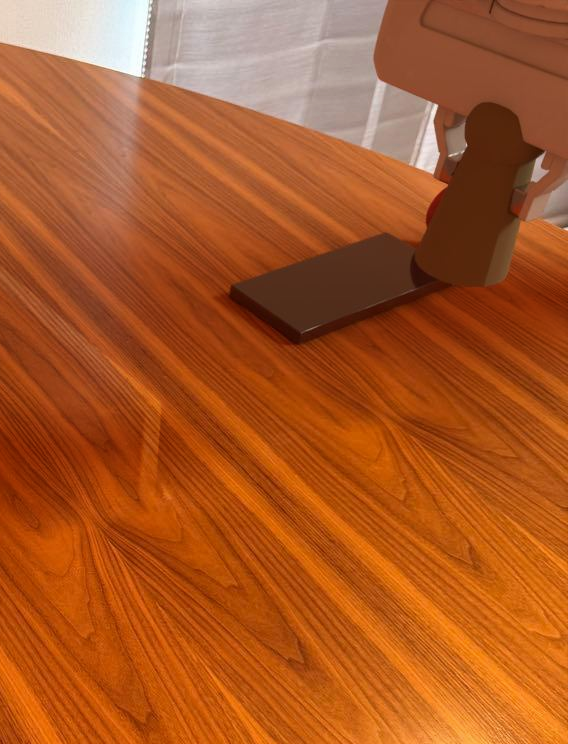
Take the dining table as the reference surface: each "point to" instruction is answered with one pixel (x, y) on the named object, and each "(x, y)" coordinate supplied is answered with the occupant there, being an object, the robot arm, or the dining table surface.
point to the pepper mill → (479, 202)
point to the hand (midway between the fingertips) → (484, 197)
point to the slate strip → (336, 287)
